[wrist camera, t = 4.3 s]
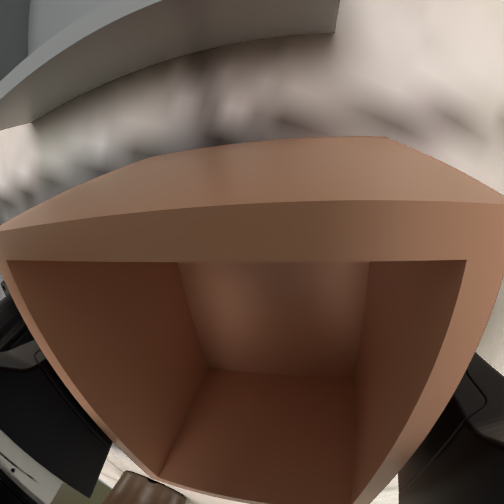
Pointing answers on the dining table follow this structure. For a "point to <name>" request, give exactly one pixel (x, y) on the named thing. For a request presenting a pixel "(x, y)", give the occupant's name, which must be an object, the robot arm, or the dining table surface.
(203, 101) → the dining table surface
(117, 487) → the plant pot
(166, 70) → the dining table surface
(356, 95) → the dining table surface
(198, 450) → the small crate
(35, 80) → the big crate
